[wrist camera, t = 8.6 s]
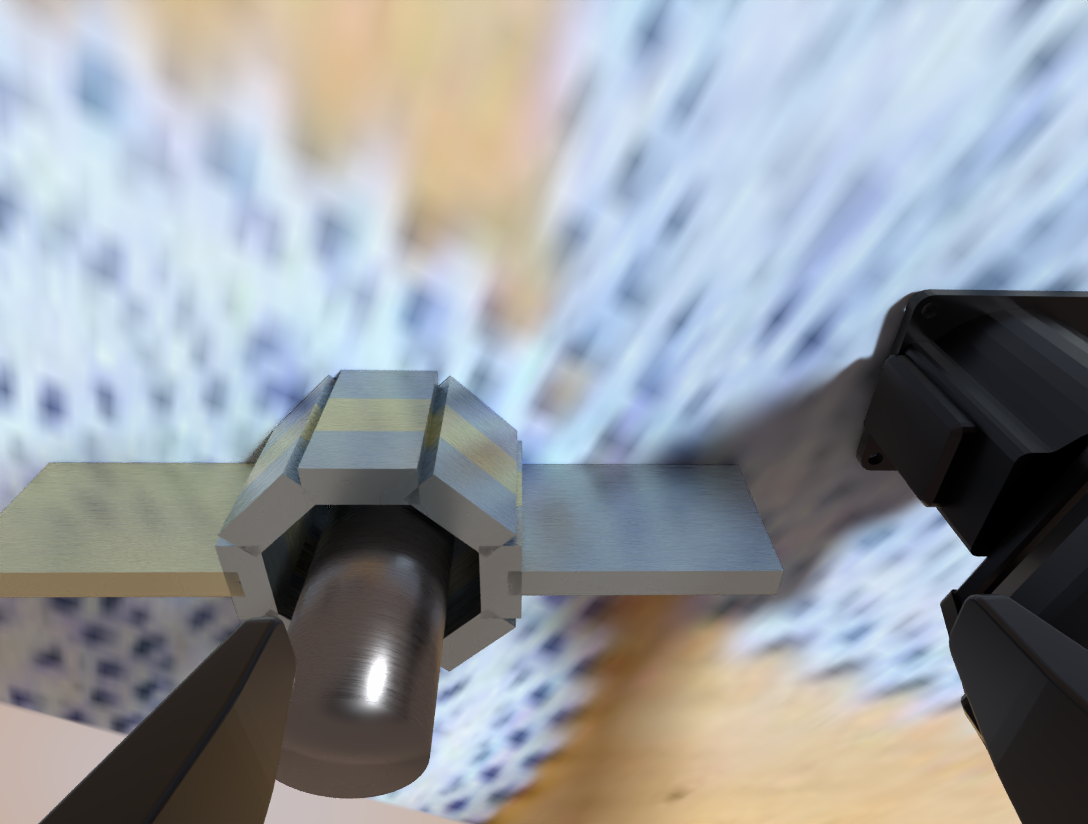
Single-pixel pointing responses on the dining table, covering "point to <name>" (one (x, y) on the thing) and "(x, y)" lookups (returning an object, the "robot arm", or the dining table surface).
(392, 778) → the hinge pin
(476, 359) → the dining table surface
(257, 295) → the dining table surface
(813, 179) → the dining table surface
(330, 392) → the hinge
